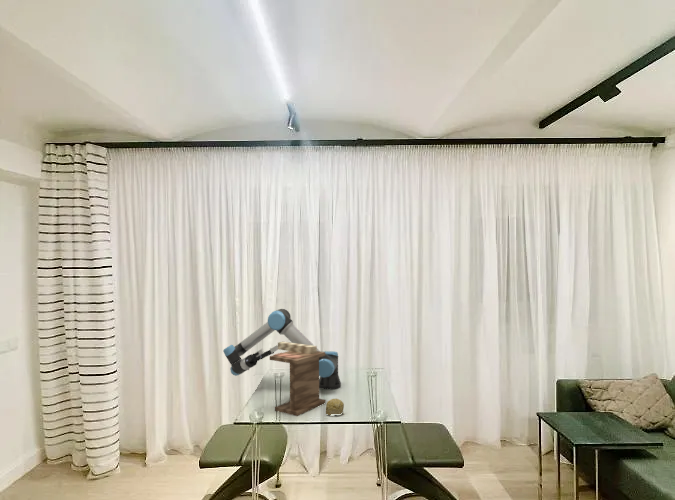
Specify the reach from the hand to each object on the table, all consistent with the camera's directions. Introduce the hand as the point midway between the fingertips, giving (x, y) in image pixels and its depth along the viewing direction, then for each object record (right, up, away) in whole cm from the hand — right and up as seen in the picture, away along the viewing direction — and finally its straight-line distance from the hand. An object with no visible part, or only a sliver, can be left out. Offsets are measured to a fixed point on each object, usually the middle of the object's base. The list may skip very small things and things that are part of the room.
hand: (270, 348), depth 294 cm
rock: (+40, -29, -33) cm, 60 cm away
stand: (+19, -29, -21) cm, 40 cm away
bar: (+17, +1, -12) cm, 21 cm away
